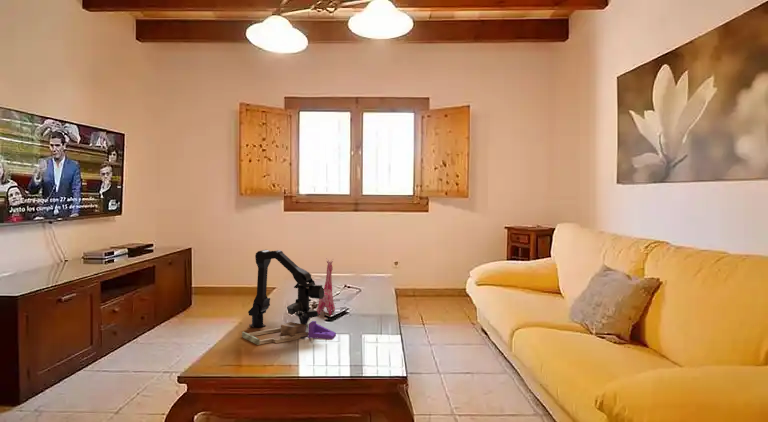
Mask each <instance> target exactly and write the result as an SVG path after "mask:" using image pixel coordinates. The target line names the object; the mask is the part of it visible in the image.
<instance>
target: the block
mask: <svg viewBox="0 0 768 422" xmlns="http://www.w3.org/2000/svg"><path fill="white" fill-rule="evenodd" d="M306 326H307V324H306V325H304V324H301V323H298V322H292V321H288V322H286V323H283V324H280V328H281V331H280V333H281V334H283V335H286V336H287V335H288V336H291V337H294V336H295V334H298V333H304V332H307V327H306Z"/></svg>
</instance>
